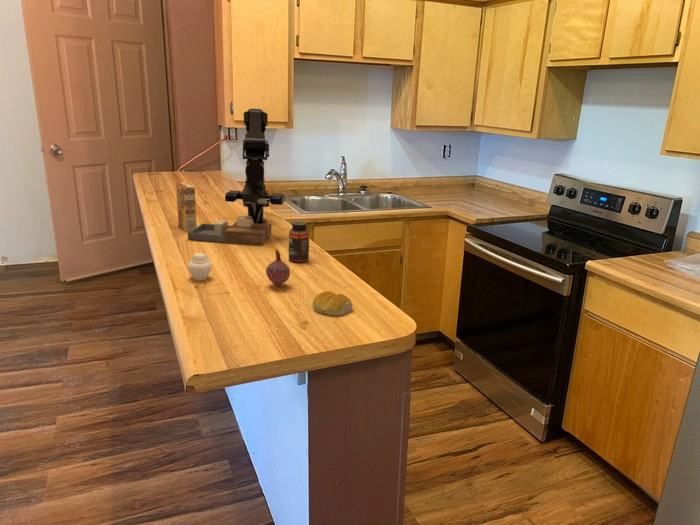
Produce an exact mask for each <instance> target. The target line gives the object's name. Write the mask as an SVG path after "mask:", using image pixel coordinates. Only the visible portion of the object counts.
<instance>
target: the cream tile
mask: <svg viewBox="0 0 700 525" xmlns="http://www.w3.org/2000/svg"><path fill="white" fill-rule="evenodd" d="M236 222H237V226H245V227H251V226H252V225H253V224H254V222H253V219H252V216H248V215H239V216H238V217H236Z"/></svg>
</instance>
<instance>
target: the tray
mask: <svg viewBox="0 0 700 525" xmlns="http://www.w3.org/2000/svg"><path fill="white" fill-rule="evenodd" d="M231 226H232V225H228V228H229V227H231ZM187 240H188V241H189V240H191V242H193V241H194V242H203V243H216V244H218V243H219V244H225V236H224V235H215V234H214V223H200V224H199V225H198V226H197V227H196V228H195V229H193V230H192V231H187Z"/></svg>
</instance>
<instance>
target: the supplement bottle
mask: <svg viewBox="0 0 700 525" xmlns="http://www.w3.org/2000/svg"><path fill="white" fill-rule="evenodd" d="M309 256H310V232H309V230H308V229H307V223H306V222H305V221H293V222H292V226H291V229H290V230H289V231H288V260H289V261H290V262H292V263H298V264H299V263H306V262H307V261H308V260H309V259H310V258H309Z"/></svg>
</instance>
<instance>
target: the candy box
mask: <svg viewBox="0 0 700 525" xmlns="http://www.w3.org/2000/svg"><path fill="white" fill-rule="evenodd" d="M175 188H176V189H175V190H176V207H177V208H176V209H177V223H178V226H180V227H179V228H181V229H182V230H183V231H184V232H190V231H192V230H193V229H195V228H196V227H198V226H197V208H196V207H197V206H196V205H197V201H196V187H195V186H194V185H193V184H191V183H189V182H176V183H175Z"/></svg>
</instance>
